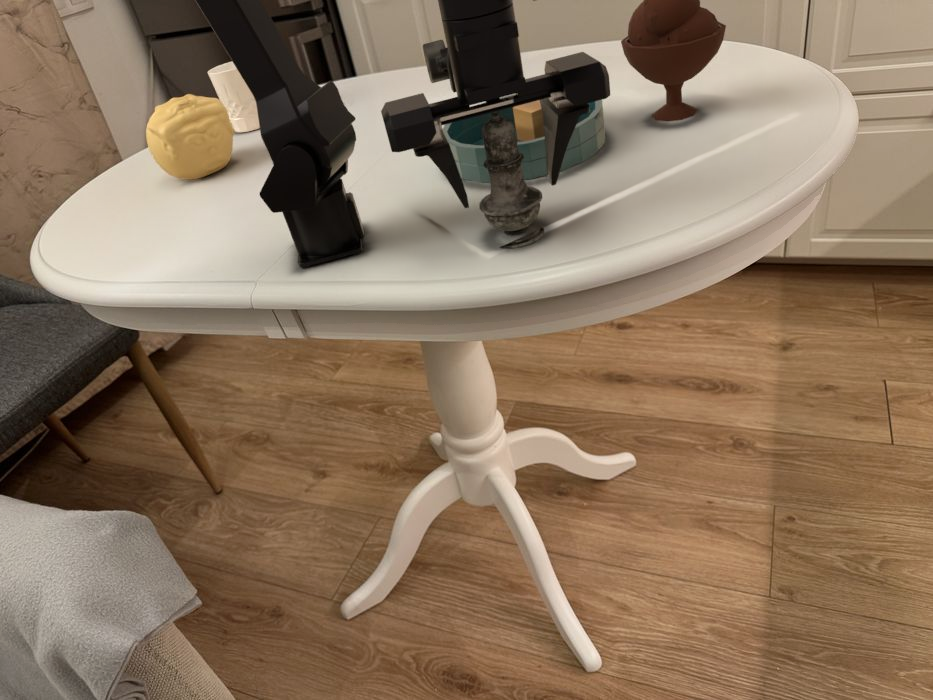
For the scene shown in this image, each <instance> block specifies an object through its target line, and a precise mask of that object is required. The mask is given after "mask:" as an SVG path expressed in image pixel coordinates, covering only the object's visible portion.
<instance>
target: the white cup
mask: <svg viewBox="0 0 933 700" xmlns="http://www.w3.org/2000/svg"><path fill="white" fill-rule="evenodd" d="M207 75H208V77H209V79H210V81H211V83H212V86H213V89H215V90H214V91H215V93H216V95H217V97H218V99H219V100H220V101H221V102H222V104H223V105H224V107H225V108H226V109H227V112H228V115H229V119H230V122H231V124H232V126H233V129H234V133H248V132H252V131H255V130H258V129H259V130H260V126H259V119H258V112H257V106H256V101H255V99H254V96H253V94H252V93H251V91H250V89H249V88H248V86H247V85H246V83H245V81H244V80H243V78H242V76H241V75H240V73H239V71H238V70H237V68H236V67H235V65H234V63H233V62H232V61H228V62H225V63H222V64H219V65H217V66H215V67H212V68H211V69H209V70H208V71H207Z"/></svg>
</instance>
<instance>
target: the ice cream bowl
mask: <svg viewBox="0 0 933 700" xmlns="http://www.w3.org/2000/svg"><path fill="white" fill-rule="evenodd" d="M726 28H727V25H726V24H725V23H722V22H720V21H718V19H717V17H716V15H715V13H713V12H712V11H710V10H709V9H707V8H705V7H701V0H643V1H642V2H640V4H639V5H638V6H637V7H636V9H635V10H634V11H633V12H632V15H631V16H630V20H629V22H628V28H627V36H625V37H624V38H623V39H622V40H621V41H620V43H621V47H622V51H623V54H624V57H625V58H626V60H627V62H628V64H629V65H630V67H632V68H633V69H634V70H635V71H636V72H637V73H639V74H640V75H641V76H642V77H643V78H644V79H646V80H647V81H649V82H652V83H653V84H658V85H662V86H663V88H664V90H665V104H664V105H662V106H661V107H659V108H658V109H657V110H656V111H655V112H654V113H653V114H652V115H651V118H652V119H654V121H659V122H666V123H667V122H676V121H682V120H685V119H689V118H691V117H694V116H695V115H696V114H697V113H698V109H696V107H694V106H693V105H690V104H688V103H686V102H683V94H682V91H683V90H682V89H683V86H684V83H685V82H687V81H689V80H692V79H693V78H695V77H696V76H698V75H699V73H701V72H702V71H703V70H704V69H705V68H706V67H707V66H708V64H709V63H711V61H712V60H713V59H714V57H715V56H716V55H717V54H718V53H719V51H720V48H721V46H722V44H723V42H724V38H725V33H726Z"/></svg>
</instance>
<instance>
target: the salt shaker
mask: <svg viewBox="0 0 933 700" xmlns="http://www.w3.org/2000/svg"><path fill="white" fill-rule="evenodd" d="M491 114H492V115H493V118H491V120H489V121H488V122H487V123H486V124H485V125H484V126H483V128H482V136H483V142H484V147H485V152H486V158H487V159H486V160H485V162H484V167H485V168H487V169H488V173H489V178H490V183H489V184H490V193H489V194H487V195H486V196H484V197H483V198H482V199H481V201H480V202H479V205H478V208H479V210H480V211H481V213H483V215H484V218H485V219H486V220H487V222H488V224H489V225H490V226H491V227H493V228H494V229H497V230H498V231H502V232H503V233H504V234H505V235H508V236H518V235H521V234H523V233H525V232H526V231H527V230H528V228H529V226H531V225H532V224H533V223H534V221H535V220H536V219H537V218H538V216H539V214H540V210H541V202H542V199H543V193H542V191H541V190H540V189H538V188H537V187H533V186H529V185H528V184H527V183H526V180H524V177H523V171H522V165H521V162H522V161H523V159H524V155H523V154H521V153H519V152H518V145H517V139H516V133H515V127H514V124H513V122H512V121H511V120H509V119H507V118H502V117H500V116H498V114H499V112H498V111H495V112H492V113H491ZM544 234H545V227H544V226H543V227H540V228H539V229H536V230H534V231H532V232H529V233H527V234H526V235H523V236H521V237H519V238H516V239H514V240H512V241H510V242H508V243H506V244H504V245H501V246H500V247H499V249H506V250H507V249H518V248H523V247H527V246H529V245H531V244H534V243H536V242H537V241H539V240H540V239H541V238H542V237H543V236H544Z"/></svg>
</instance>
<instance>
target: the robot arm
mask: <svg viewBox="0 0 933 700" xmlns="http://www.w3.org/2000/svg"><path fill="white" fill-rule="evenodd" d="M194 1H195V3H196V4H197V6H198V8H199V9H200V11H201V13H202V14H203V16H204V18H205V19H206V21H207V23H208V24H209V26H210V27H211V29H212V30H213V32H214V34H215V35H216V37H217V39H218V40H219V42H220V44H221V45H222V47H223V49H224V51H225V52H226V54H227V55H228V57H229V58H230V60H231V62H233V63H234V65H235V67H236V68H237V70H238V71H239V73H240V75H241V76H242V78H243V80H244V81H245V83H246V85H247V86H248V88H249V89H250V91H251V93H252V94H253V96H254V99H255V101H256V106H257V112H258V119H259V126H260V128H259V132H260V138H261V140H262V142H263V144H264V146H265V148H266V151H267V153H268V155H269V158H270V160H271V162H272V164H273V165H272V168H271V170H270V171H269V173H268V175H267V177H266V179H265V181H264V184H263V185H262V187H261V189H260V191H259V196H260V198H261V200H262V201H263V202H264V204H265V205H266V206H267V207H268V209H269V210H270V211H271V213H274V214H275V213H282V216H283V218H284V220H285V223H286V225H287V228H288V231H289V233H290V235H291V239H292V241H293V243H294V246H295V249H296V252H297V254H298V255H297V264H298V267H299V268H306V267H310V266H313V265H314V266H315V265H318V264H321V263H326V262H329V261H333V260H336V259H340V258H344V257H348V256H351V255H355V254H359V253H361V252H362V251H363V244H362V243H363V242H362V240H363V239H364V238H365V231H364V226H363V222H362V219H361V216H360V212H359V210H358V206H357V203H356V200H355V197H354V194H353V192H350V191H349V192H347V191H346V187H345V184H344V181H343V179H342V177H343V176H345V175H347V173H348V171H349V169H348V168H349V159H350V157H351V156H352V154H353V153H354V151H355V146H356V142H357V134H356V131H355V127H354V126H353V123H354V122H355V121H356V116H355V115H353V114H352V113H351V112H350V110H349V109H348V108H347V107H346V105H345V103H344V101H343V100H342V96H341V94H340V91H339V88H338V87H337V85H336V84H335V82H334V81H333V80H329V81H328V82H326V83H325V84H324V85H323V86H320V85H319V84H318V83H316V82H315V81H313V80H312V79H311V78H310V77H308V76H307V75H306V74H305V73H304V72H303V70H302V69H301V68H300V66H299V64H298V63H297V61H296V59H295V58H294V56H293V54H292V52H291V50H290V49H289V47H288V45H287V44H286V41H285V40H284V38H283V36H282V34H281V33H280V31H279V29H278V27H277V26H276V24H275V22H274V20H273V18H272V16H271V15H270V13H269V12H268V10H267V8H266V6H265V5H264V3H263V1H262V0H194ZM532 1H533V2H536V1H537V0H532ZM437 2H438V8H439V12H440V13H439V14H440V17H441V22H442V27H443V32H444V38H445V41H444V39H438V40H435V41H431V42H426V43H423V44H422V50H423V55H424V60H425V65H426V70H427V73H428V77H429V81H430V83H431V84H435V83H440V82H442V81H446V80H449V84H450V89H451V91H452V92H453V93H456V96H455V97H451V98H448V99H443V100H439V101H435V102H432V103H429V101H428V99H427V98H426V96H425V94H424V92H420V93H417V94H414V95H409V96H405V97H402V98H399V99H394V100H390V101H386V102H384V104H383V107H382V108H381V110H380V112H381V116H382V120H383V125H384V128H385V131H386V136H387V139H388V142H389V147H390V151H391V152H392V153H402V152H406V151H410V150H413V153H414V155H415V157H416V158H417V157H418V158H420V157H421V158H422V157H425V156H426V157H428V158H429V159H430V160H431V161H432V162H433V164H434V165H435V166H436V167H437V169H439V171H440V172H441V173H442V174H443V176H444V177H445V178H446V180H447V182H448V183H449V185H450V186H451V188H452V189H453V191H454V193H455V194H456V196H457V199H458V200H459V201H460V203H461V204H462V206H463V208H464V209H468V208H470V205H469V199H468V194H467V191H466V188H465V185H464V183H463V179H462V178H461V176H460V174H459V171H458V168H457V165H456V162H455V159H454V156H453V154H452V151H451V148H450V145H449V143H448V141H447V139H446V137H445V135H444V133H443V126H444V125H445V124H449V123H453V122H457V121H461V120H465V119H468V118H472V117H476V116H480V115H484V114H488V113H492V112H495V111H499V110H503V109H507V108H511V107H515V106H518V105H522V104H526V103H530V102H534V101H538V100H540V104H541V109H542V114H543V119H544V132H545V153H546V168H547V174H548V175H547V179H548V183H549V185H551V186H556V185H557V182H558V179H559V176H560V172H561V171H560V169H561V166H562V163H563V159H564V156H565V152H566V149H567V146H568V143H569V141H570V139H571V136H572V134H573V132H574V129H575V127H576V125H577V122H578V120H579V118H580V116H581V115H584V114H587V113H589V112H590V105H589V104H588V103H591V102H594V101H598V100H602V101H603V100H607V99H608V98H609V97H610V96H611V86H610V85H611V83H610V75H609V72H608V69H607V66H606V65H604V64H603V63H602V62H601V61H599V60H598V59H596V58H595V57H593V56H591V55H589V54H588V53H587V52H585V51H580V52H576V53H573V54H567V55H564V56H561V57H557V58H553V59H549V60H546V61H545V64H544V74H540V75H536V76H533V77H528V78H526V77H525V74H524V69H523V63H522V54H521V48H520V41H519V37H520V34H519V27H518V22H517V20H516V15H515V14H516V13H515V7H514V0H437ZM445 43H446V44H445ZM513 94H516V95H514V96H510V97H505V96H509V95H513ZM501 97H505V98H502V99H500V98H501ZM485 102H486V103H485Z"/></svg>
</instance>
